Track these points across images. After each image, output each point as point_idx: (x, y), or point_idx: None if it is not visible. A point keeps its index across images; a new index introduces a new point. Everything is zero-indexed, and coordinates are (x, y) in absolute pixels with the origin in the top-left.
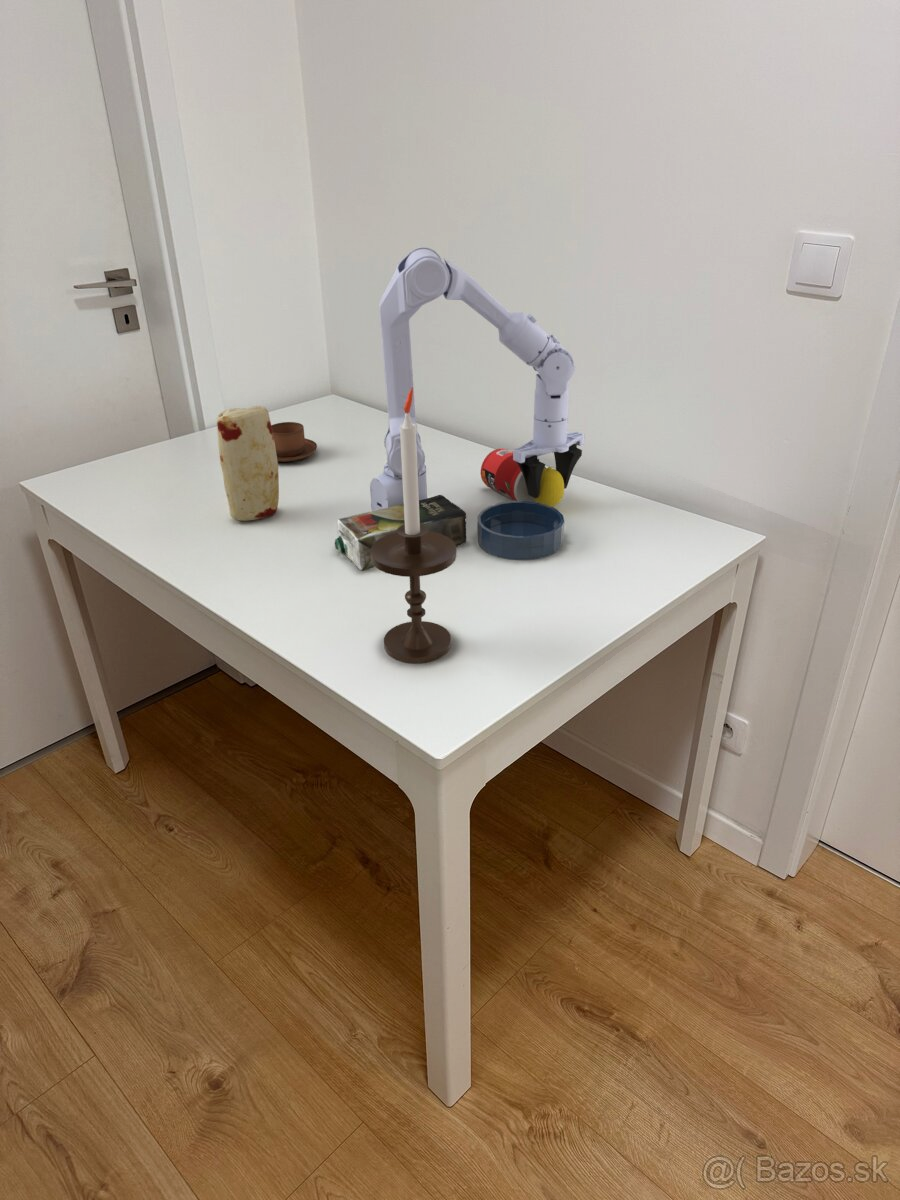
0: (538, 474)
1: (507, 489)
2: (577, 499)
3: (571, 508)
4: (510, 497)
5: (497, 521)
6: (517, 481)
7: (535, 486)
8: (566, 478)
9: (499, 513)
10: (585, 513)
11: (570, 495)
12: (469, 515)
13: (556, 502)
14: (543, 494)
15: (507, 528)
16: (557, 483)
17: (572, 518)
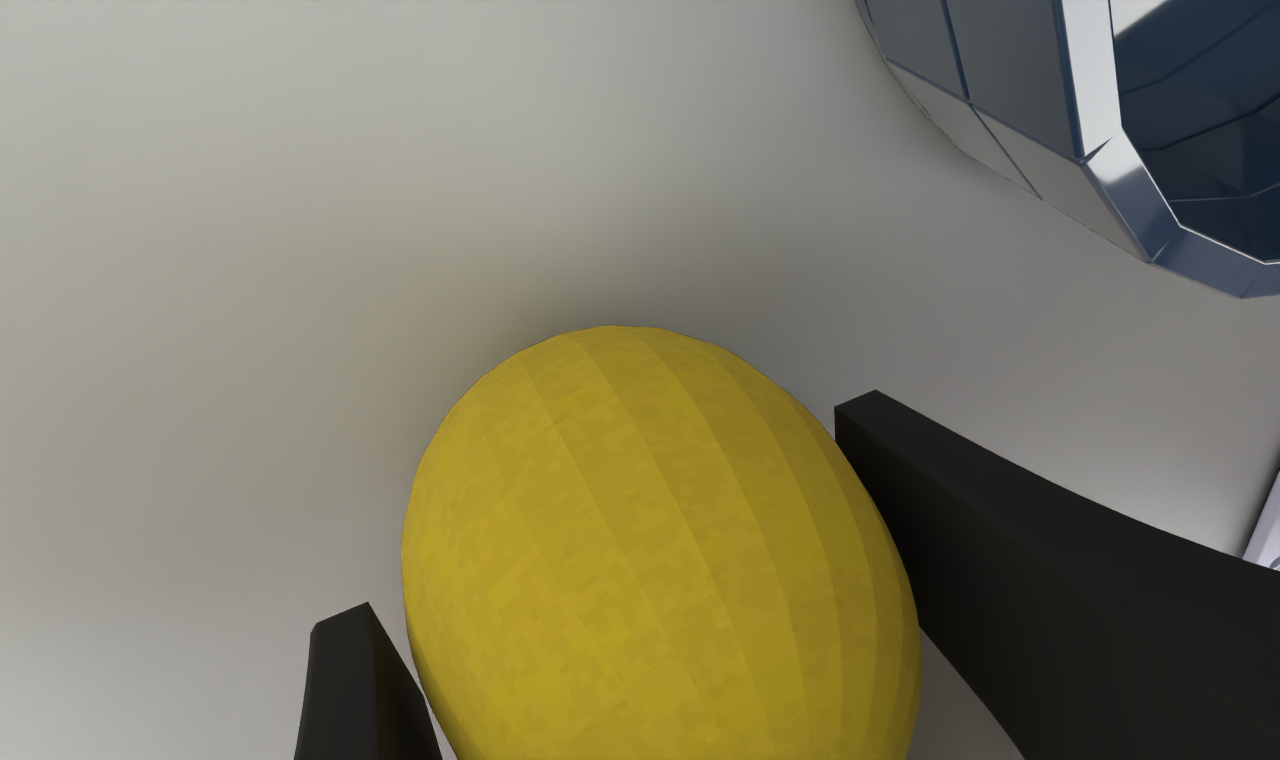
0: (1252, 618)
1: None
2: (48, 571)
3: (238, 347)
4: None
5: (1221, 151)
6: None
7: (1046, 479)
8: (378, 750)
9: (1275, 194)
10: (60, 134)
11: (113, 665)
12: (1146, 393)
13: (563, 336)
14: (812, 417)
15: (1198, 16)
16: (695, 546)
17: (357, 30)
